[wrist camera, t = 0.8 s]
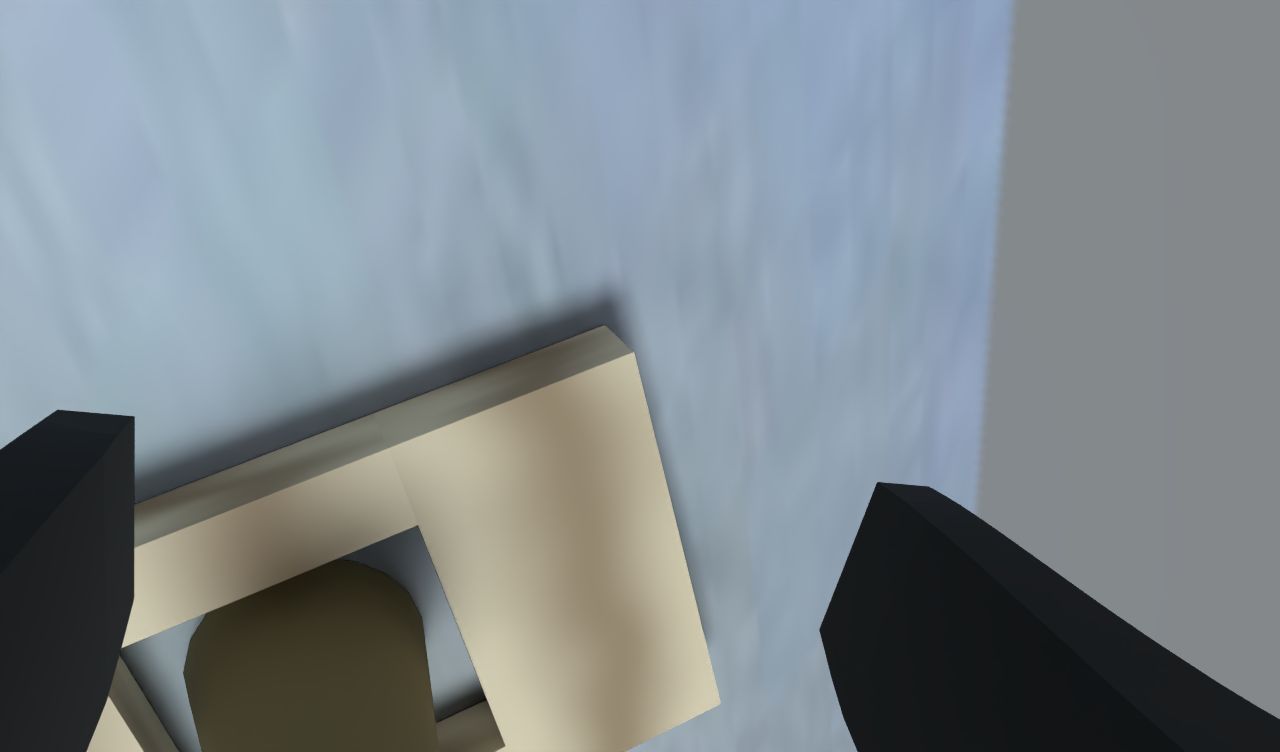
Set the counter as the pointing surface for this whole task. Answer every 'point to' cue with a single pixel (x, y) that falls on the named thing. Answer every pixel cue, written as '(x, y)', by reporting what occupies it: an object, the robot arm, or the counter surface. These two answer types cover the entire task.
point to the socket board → (466, 549)
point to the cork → (314, 668)
